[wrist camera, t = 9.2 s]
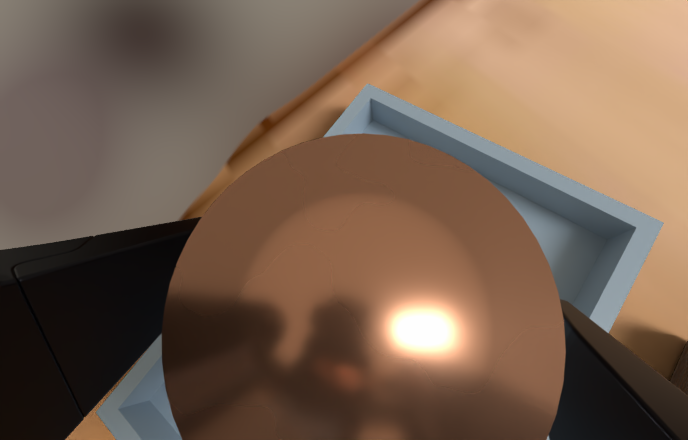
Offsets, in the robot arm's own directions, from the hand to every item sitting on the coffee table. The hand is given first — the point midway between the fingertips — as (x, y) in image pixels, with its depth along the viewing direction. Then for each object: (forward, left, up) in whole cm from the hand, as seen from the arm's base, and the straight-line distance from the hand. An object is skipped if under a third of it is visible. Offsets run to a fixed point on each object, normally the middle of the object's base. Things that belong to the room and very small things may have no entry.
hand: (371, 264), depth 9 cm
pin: (-1, 0, -8) cm, 8 cm away
